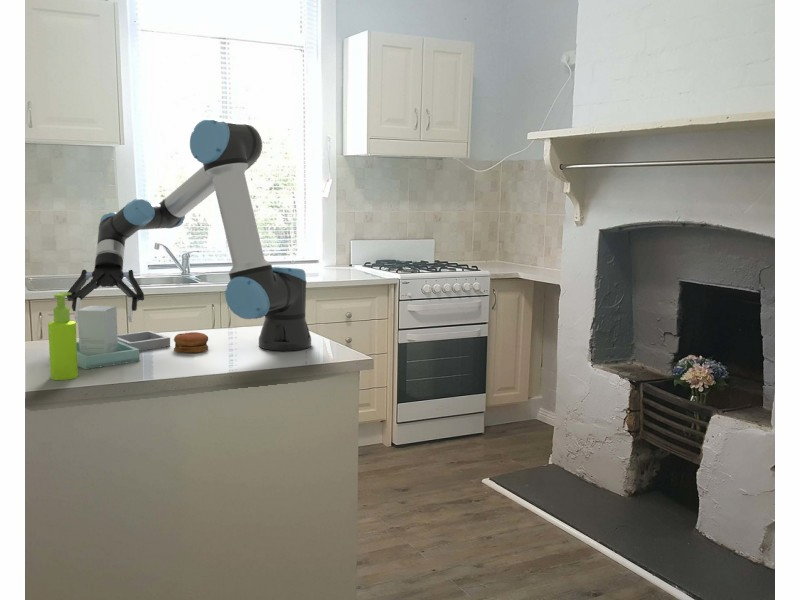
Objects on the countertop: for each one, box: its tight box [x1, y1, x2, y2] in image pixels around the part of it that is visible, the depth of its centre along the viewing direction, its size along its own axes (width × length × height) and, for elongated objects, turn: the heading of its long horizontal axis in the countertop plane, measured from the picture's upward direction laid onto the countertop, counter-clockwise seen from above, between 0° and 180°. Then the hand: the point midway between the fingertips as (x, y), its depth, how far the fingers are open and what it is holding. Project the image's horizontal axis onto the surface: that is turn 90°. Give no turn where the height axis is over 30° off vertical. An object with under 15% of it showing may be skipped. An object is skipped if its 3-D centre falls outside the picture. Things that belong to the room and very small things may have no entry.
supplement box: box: [77, 304, 119, 356], centre depth 188 cm, size 7×7×13 cm
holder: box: [117, 330, 171, 351], centre depth 204 cm, size 12×12×2 cm
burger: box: [173, 331, 209, 354], centre depth 201 cm, size 10×9×5 cm
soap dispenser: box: [47, 291, 79, 381], centre depth 170 cm, size 6×7×20 cm
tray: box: [77, 341, 141, 370], centre depth 189 cm, size 18×14×3 cm
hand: (103, 319), depth 198 cm, fingers open, 13 cm apart
